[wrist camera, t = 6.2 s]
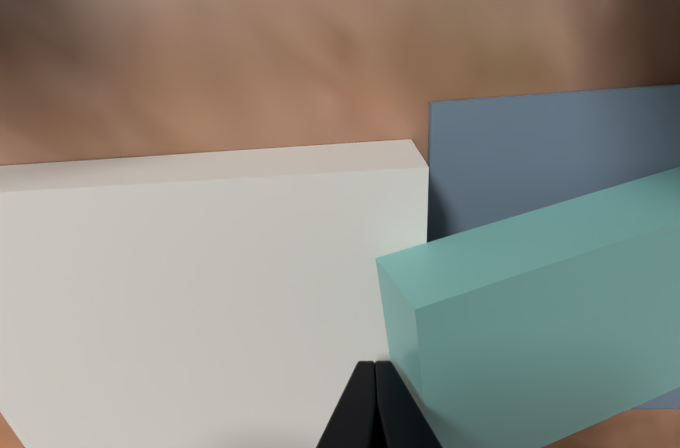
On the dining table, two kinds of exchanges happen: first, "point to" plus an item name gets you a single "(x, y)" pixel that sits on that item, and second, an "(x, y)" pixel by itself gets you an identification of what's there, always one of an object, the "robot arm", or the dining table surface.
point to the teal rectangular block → (541, 317)
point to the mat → (545, 155)
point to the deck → (197, 291)
